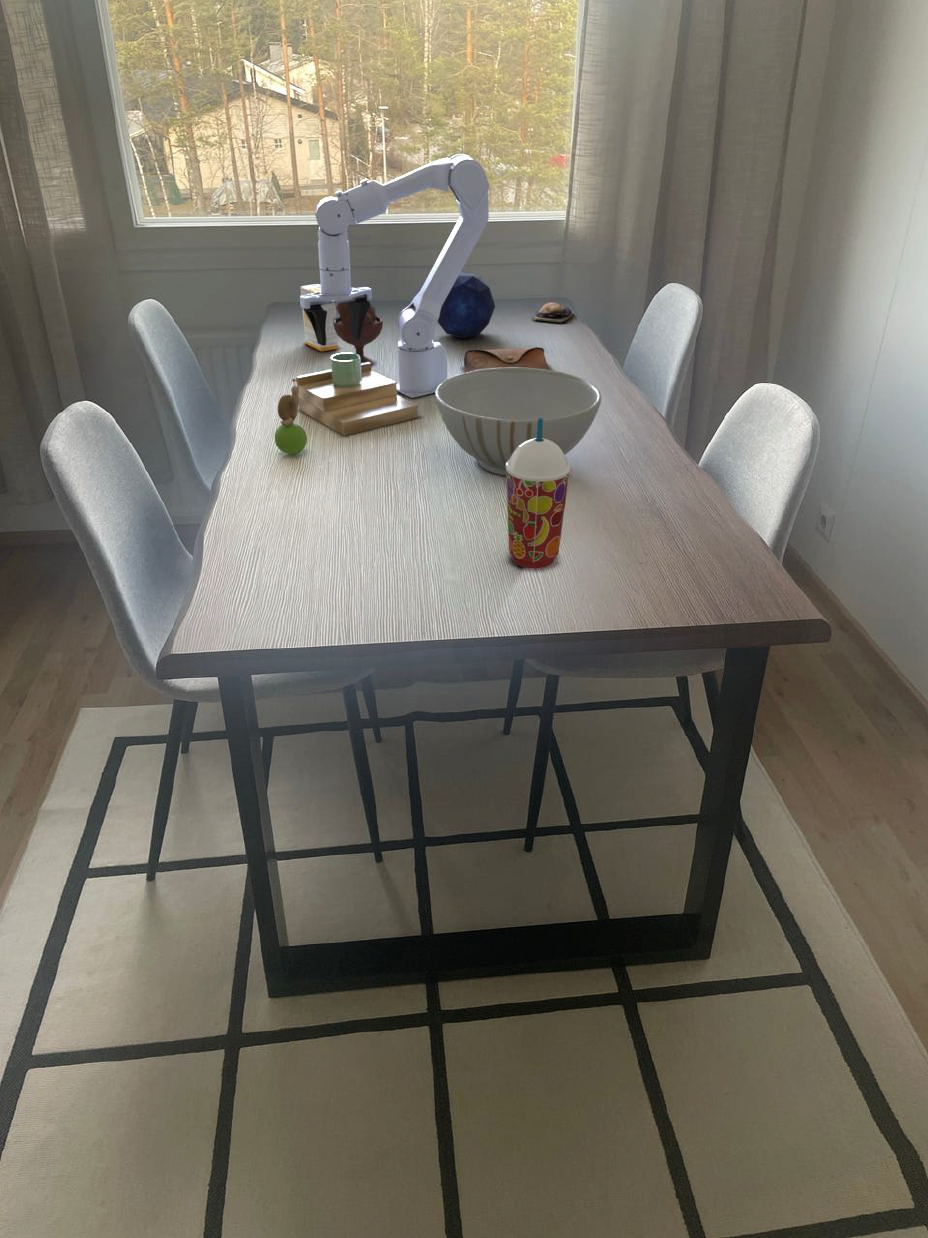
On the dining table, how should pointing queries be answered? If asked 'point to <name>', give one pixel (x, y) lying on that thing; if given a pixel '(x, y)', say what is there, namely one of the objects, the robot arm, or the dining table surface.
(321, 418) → the shelf
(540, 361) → the sunglasses case
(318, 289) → the supplement box
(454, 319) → the decorative orb
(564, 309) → the sandwich
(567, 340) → the dining table surface
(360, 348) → the ice cream bowl
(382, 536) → the dining table surface
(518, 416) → the decorative bowl
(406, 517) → the dining table surface
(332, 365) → the green cup
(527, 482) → the smoothie
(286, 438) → the snail figurine
